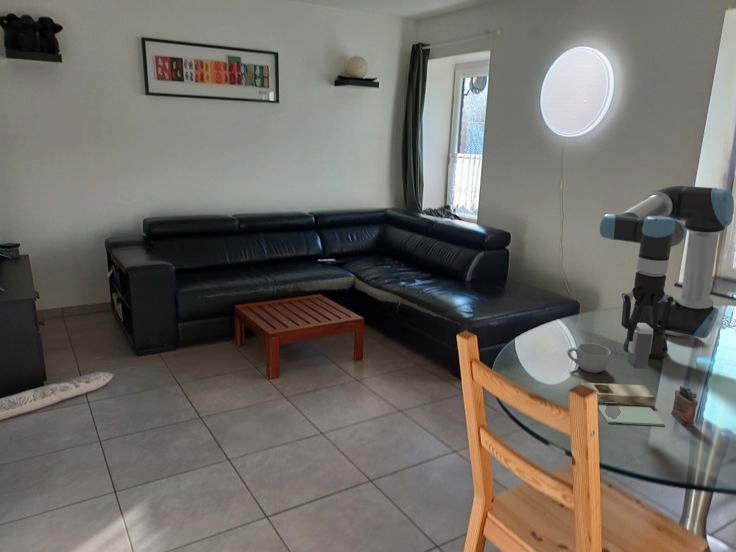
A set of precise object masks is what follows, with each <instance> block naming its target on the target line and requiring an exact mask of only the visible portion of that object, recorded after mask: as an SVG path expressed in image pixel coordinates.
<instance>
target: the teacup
mask: <svg viewBox="0 0 736 552" xmlns="http://www.w3.org/2000/svg"><path fill="white" fill-rule="evenodd" d="M572 352H576V353H575V354H576V357H573V355H572V354H571V353H572ZM567 356H568V357H569V359H570V360H571V361H573V362H574V363H575V364H576V365H578V367H580V368H581V370H582V371H584V372H587V373H592V374H597V373H598V374H599V373H601V372H603V371H605V370H606V369H607V367H608V365H609V362H610V356H611V350H610V349H609V348H608V347H607V346H604V345H602V344H598V343H595V342H594V343H593V342H582V343H579V344H578V345H577V348H576V347H570V348H568V350H567Z"/></svg>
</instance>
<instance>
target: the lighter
mask: <svg viewBox="0 0 736 552" xmlns="http://www.w3.org/2000/svg"><path fill="white" fill-rule="evenodd" d="M696 398H697V393H696V392H695V391H692V390H691V388H690V387H686V386H685V385H681V384H680V386H679V389H678V390H677V389H676V390H675V391H674V400H673V407H672V410H671V412H670V414H671V416H672V417H673V418H674V419H675V420H676V421H677V422H679V423H680V424H682V426H685V427H687V428H688V427H689V428H693V427H694V424H695V422H694V421H695V415H696V410H697V406H698V404H699V401H698V400H696Z"/></svg>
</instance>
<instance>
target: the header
mask: <svg viewBox="0 0 736 552" xmlns="http://www.w3.org/2000/svg"><path fill="white" fill-rule="evenodd" d="M580 385H585V386H587V387H590V388H592V389H594V390H596V391H597V393H598V399H599V403H598V404H601V405H604V404H603V403H605V402H617V403H621V404H620V405H623V404H625V405H624V406H644V407H654V403H655V399H656V398H655V395H654V394H653V393H652V392H651V391H650V390H649V389H648V388H647V387H646V386H645V385H643V384H621V383H620V384H619V383H604V382H603V383H602V382H601V383H599V382H579V386H580ZM627 404H628V405H627Z"/></svg>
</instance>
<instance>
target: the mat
mask: <svg viewBox="0 0 736 552" xmlns="http://www.w3.org/2000/svg"><path fill="white" fill-rule="evenodd" d="M598 405H599V410H598V412H599V413H600V414H601V416H602V418H603V419H604V418H605V419H604V421H605V422H606V423H607V424H613V423H612V422H617V423H622V425H636V426H638V425H639V426H656V427H657V426H660V427H661V426H662V427H665V425H666V424H665V422H664V421H663V420H662V419H661V417H660V416H658V415H657V413H656V412H655V411H654V410H653V409H652V408H651V406H640V405H619V406H620V407H619V409H620V411H621V413H620V415H619V416H617V418H616V419H612V418H611V417H608V416H607V415H606V413H605V409H606V405H607V404H598Z"/></svg>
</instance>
